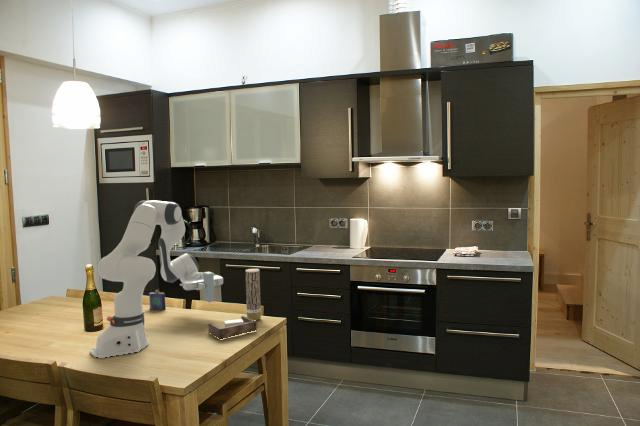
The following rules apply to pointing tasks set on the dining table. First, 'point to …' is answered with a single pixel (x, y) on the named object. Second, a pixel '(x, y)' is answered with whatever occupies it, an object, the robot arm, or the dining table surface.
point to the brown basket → (233, 328)
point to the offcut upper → (233, 322)
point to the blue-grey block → (208, 286)
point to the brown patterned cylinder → (253, 294)
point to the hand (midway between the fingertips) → (209, 285)
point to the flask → (157, 300)
